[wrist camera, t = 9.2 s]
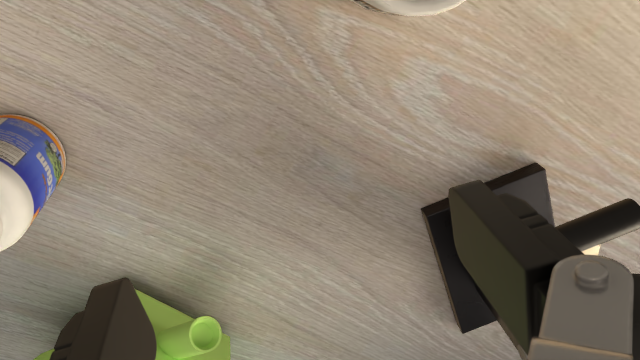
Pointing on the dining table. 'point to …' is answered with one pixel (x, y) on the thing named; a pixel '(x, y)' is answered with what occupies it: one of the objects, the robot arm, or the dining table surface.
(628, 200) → the lever
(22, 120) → the pill bottle
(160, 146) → the dining table surface
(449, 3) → the mug
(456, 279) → the bracket
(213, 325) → the kettle
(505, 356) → the dining table surface
